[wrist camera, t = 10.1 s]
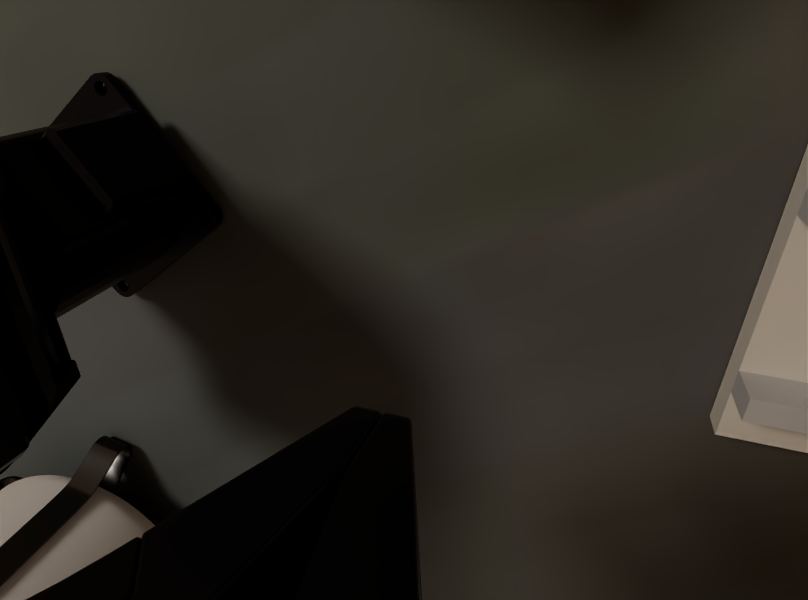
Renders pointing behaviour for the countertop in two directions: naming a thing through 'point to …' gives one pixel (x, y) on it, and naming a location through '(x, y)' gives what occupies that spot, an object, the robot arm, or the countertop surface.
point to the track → (773, 342)
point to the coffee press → (64, 521)
